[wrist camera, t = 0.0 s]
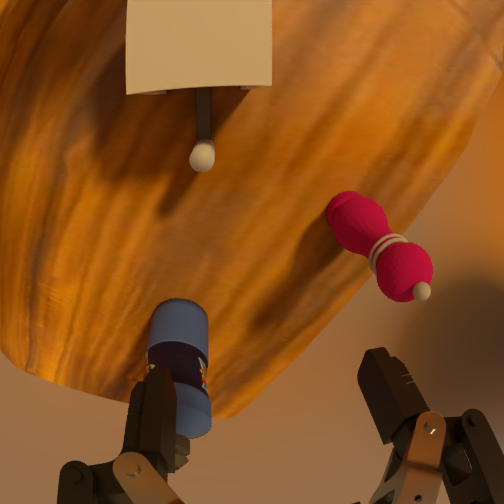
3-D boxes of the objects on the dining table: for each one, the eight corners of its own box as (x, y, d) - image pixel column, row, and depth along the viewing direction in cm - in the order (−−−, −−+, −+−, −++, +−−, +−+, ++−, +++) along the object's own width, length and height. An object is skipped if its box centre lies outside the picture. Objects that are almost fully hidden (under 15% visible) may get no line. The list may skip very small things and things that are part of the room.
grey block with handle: (177, 20, 26) (167, 0, 19) (229, 17, 27) (233, -4, 20) (180, 158, 35) (171, 174, 28) (230, 155, 35) (233, 170, 28)
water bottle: (151, 337, 48) (133, 474, 26) (151, 294, 44) (122, 446, 22) (205, 343, 50) (210, 481, 28) (212, 301, 46) (218, 456, 24)
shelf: (153, 5, 25) (130, -27, 15) (255, 0, 26) (271, -35, 16) (152, 95, 31) (126, 94, 21) (254, 89, 32) (271, 85, 22)
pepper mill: (323, 238, 42) (387, 336, 25) (321, 191, 39) (398, 272, 22) (368, 230, 43) (446, 315, 25) (369, 184, 39) (462, 254, 22)
